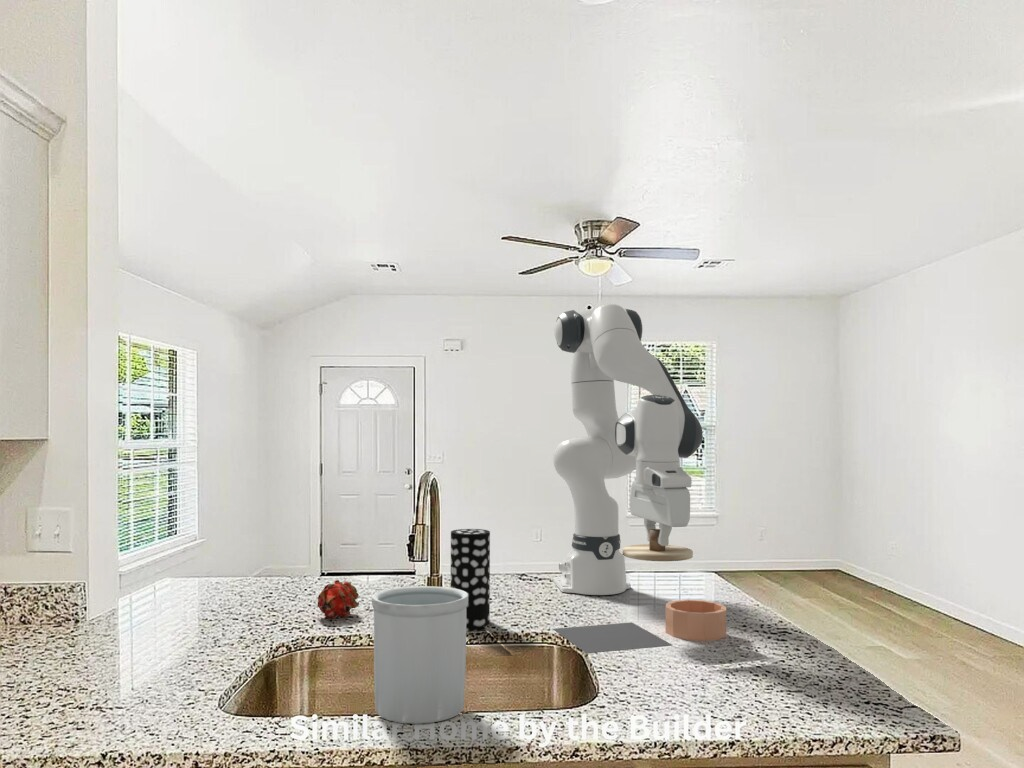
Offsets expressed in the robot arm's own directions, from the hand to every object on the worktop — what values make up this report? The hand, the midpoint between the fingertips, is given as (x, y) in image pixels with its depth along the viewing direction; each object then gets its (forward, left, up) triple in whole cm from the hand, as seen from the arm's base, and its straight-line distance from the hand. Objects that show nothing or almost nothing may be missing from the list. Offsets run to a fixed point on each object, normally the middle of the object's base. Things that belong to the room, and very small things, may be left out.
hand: (657, 543), depth 172 cm
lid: (0, 0, -2) cm, 2 cm away
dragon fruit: (-36, -60, -19) cm, 72 cm away
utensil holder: (+25, -54, -19) cm, 62 cm away
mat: (-1, -10, -19) cm, 21 cm away
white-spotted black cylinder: (-20, -34, -19) cm, 44 cm away
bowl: (+1, +8, -19) cm, 21 cm away
